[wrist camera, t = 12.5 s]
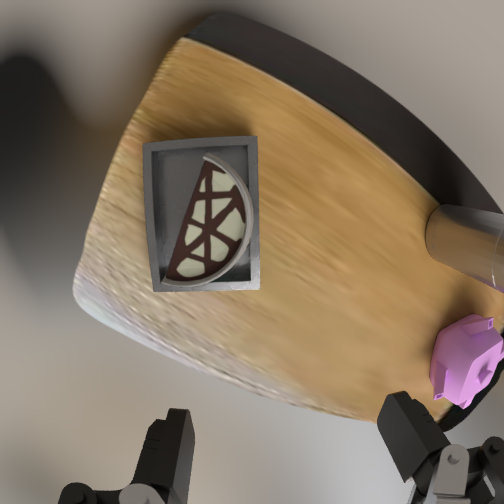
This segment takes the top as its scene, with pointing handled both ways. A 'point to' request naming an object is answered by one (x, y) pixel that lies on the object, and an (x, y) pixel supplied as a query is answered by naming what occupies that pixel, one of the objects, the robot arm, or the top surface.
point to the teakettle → (465, 359)
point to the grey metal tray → (178, 197)
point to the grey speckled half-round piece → (212, 226)
